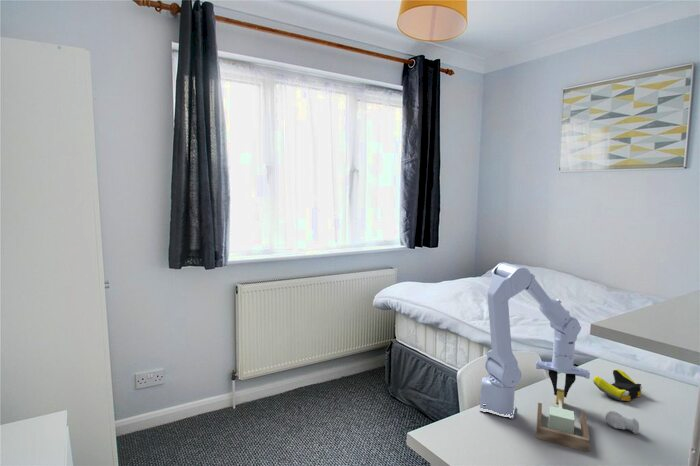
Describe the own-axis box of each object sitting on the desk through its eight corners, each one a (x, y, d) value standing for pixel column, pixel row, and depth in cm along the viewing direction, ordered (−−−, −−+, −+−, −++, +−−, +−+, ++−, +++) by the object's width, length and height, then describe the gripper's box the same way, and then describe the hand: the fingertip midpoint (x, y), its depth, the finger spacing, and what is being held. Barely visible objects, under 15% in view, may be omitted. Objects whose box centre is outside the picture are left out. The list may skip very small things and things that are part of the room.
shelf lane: (536, 438, 105) (536, 427, 105) (537, 412, 118) (538, 402, 117) (588, 451, 100) (589, 440, 100) (584, 423, 112) (585, 413, 112)
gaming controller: (589, 391, 130) (621, 406, 122) (590, 375, 130) (623, 389, 121) (615, 382, 137) (647, 395, 129) (616, 366, 137) (649, 379, 128)
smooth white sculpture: (602, 427, 113) (611, 417, 115) (633, 442, 106) (643, 431, 108) (600, 414, 112) (610, 405, 114) (632, 429, 105) (641, 418, 107)
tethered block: (548, 428, 110) (549, 414, 109) (548, 398, 125) (549, 386, 125) (573, 434, 107) (574, 420, 107) (570, 403, 123) (571, 391, 122)
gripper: (589, 352, 122) (586, 394, 123) (537, 344, 128) (535, 383, 130) (591, 361, 116) (588, 405, 117) (536, 351, 122) (534, 393, 124)
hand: (560, 394), depth 123 cm, fingers closed on tethered block, 2 cm apart
